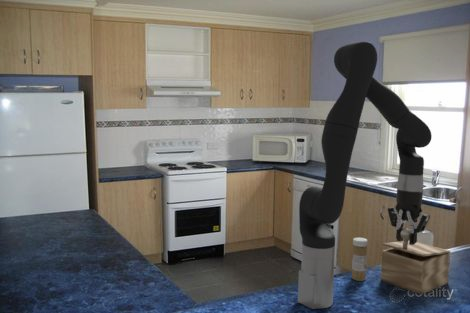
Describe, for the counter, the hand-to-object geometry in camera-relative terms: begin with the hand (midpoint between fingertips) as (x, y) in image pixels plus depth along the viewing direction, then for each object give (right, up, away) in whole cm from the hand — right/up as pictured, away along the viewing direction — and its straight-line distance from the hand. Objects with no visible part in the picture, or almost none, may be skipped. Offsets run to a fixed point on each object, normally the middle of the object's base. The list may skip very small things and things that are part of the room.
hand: (406, 242), depth 148 cm
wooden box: (+4, -14, +5) cm, 15 cm away
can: (+14, -12, +24) cm, 30 cm away
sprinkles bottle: (-13, -13, +7) cm, 20 cm away
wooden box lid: (+5, -3, +4) cm, 7 cm away
